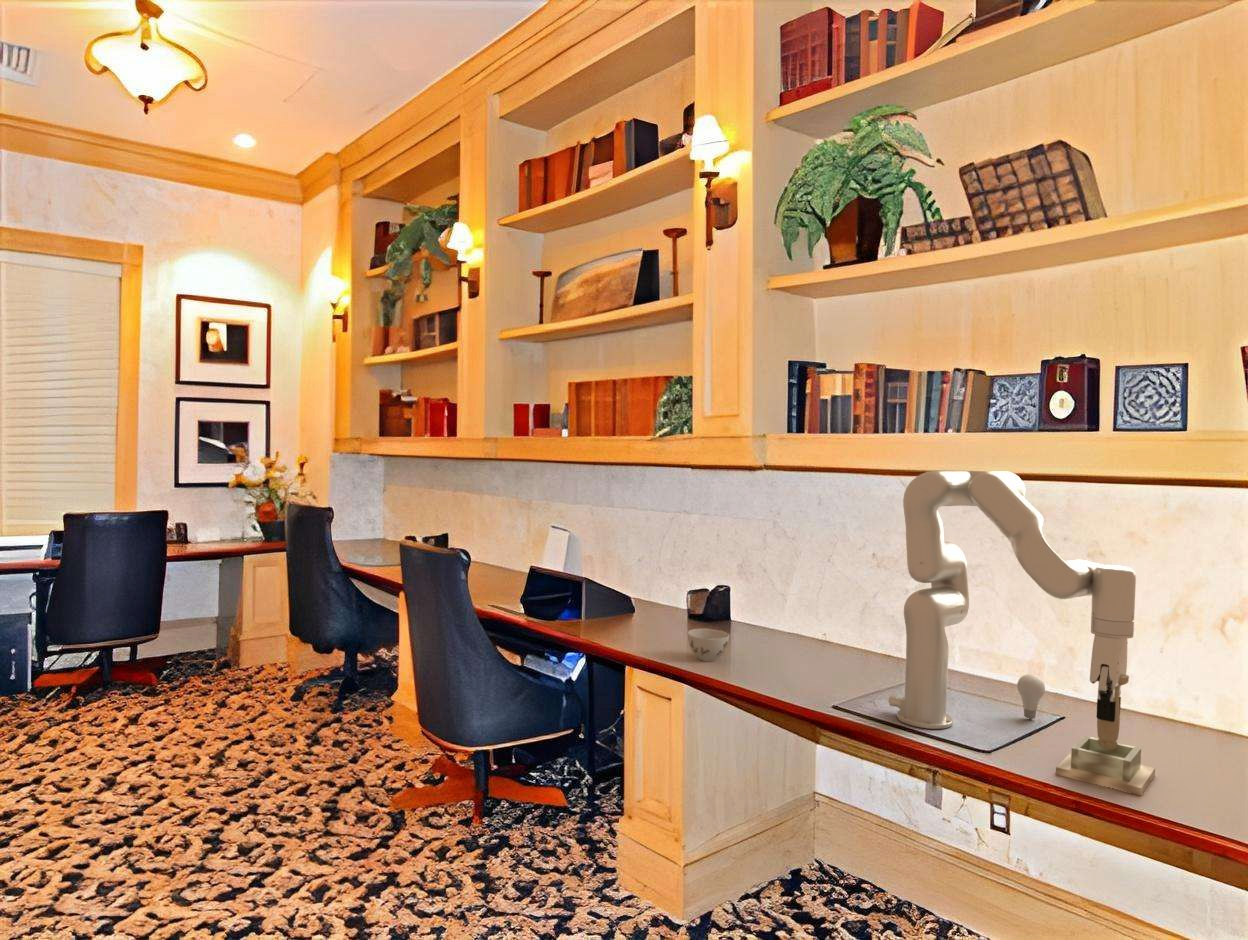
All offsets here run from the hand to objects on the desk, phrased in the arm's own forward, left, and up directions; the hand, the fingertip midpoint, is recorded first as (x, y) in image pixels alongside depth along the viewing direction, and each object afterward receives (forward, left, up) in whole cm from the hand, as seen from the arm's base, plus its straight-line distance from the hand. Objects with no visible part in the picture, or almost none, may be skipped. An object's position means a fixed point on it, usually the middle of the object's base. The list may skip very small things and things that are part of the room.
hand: (1108, 716), depth 174 cm
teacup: (-110, +18, -12) cm, 112 cm away
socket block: (0, 0, -12) cm, 12 cm away
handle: (0, 0, -6) cm, 6 cm away
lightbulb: (-22, +27, -12) cm, 37 cm away
